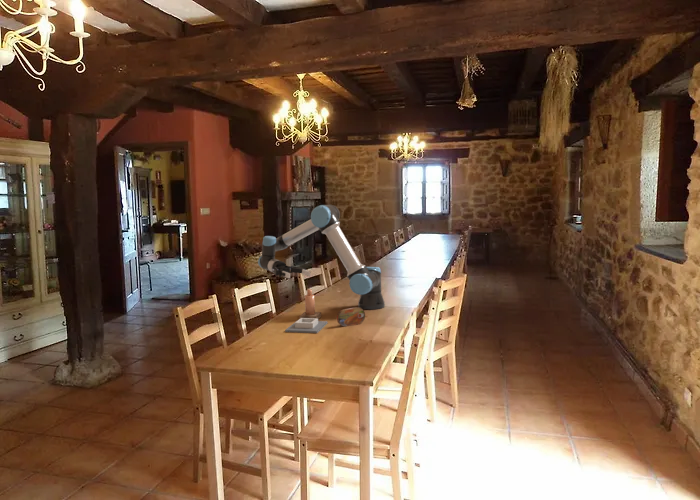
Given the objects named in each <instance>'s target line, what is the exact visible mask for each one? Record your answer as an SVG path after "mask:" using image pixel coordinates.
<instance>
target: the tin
mask: <svg viewBox="0 0 700 500" xmlns="http://www.w3.org/2000/svg"><path fill="white" fill-rule="evenodd" d="M365 319H366V312H365V309H362V308H359V307H350V308H344V309H341V310H339V311H338V313H337V315H336V321H337V324H338V325H340V326H342V327H345V328H346V327H349V326H350V327H351V326H354V325H356V326H357V325H361V324H362V323H363V322H364V321H365Z"/></svg>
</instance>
